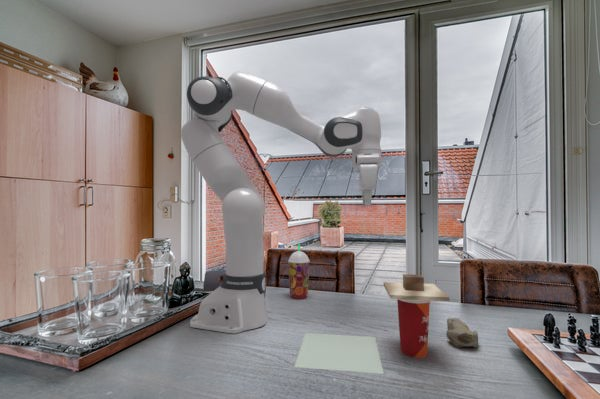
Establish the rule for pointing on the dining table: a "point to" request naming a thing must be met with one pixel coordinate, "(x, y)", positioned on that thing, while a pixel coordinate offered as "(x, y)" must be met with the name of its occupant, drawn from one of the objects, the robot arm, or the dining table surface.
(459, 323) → the sculpture
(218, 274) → the bluetooth speaker
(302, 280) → the smoothie
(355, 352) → the mat
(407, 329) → the paper cup
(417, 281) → the lid
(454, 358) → the dining table surface
